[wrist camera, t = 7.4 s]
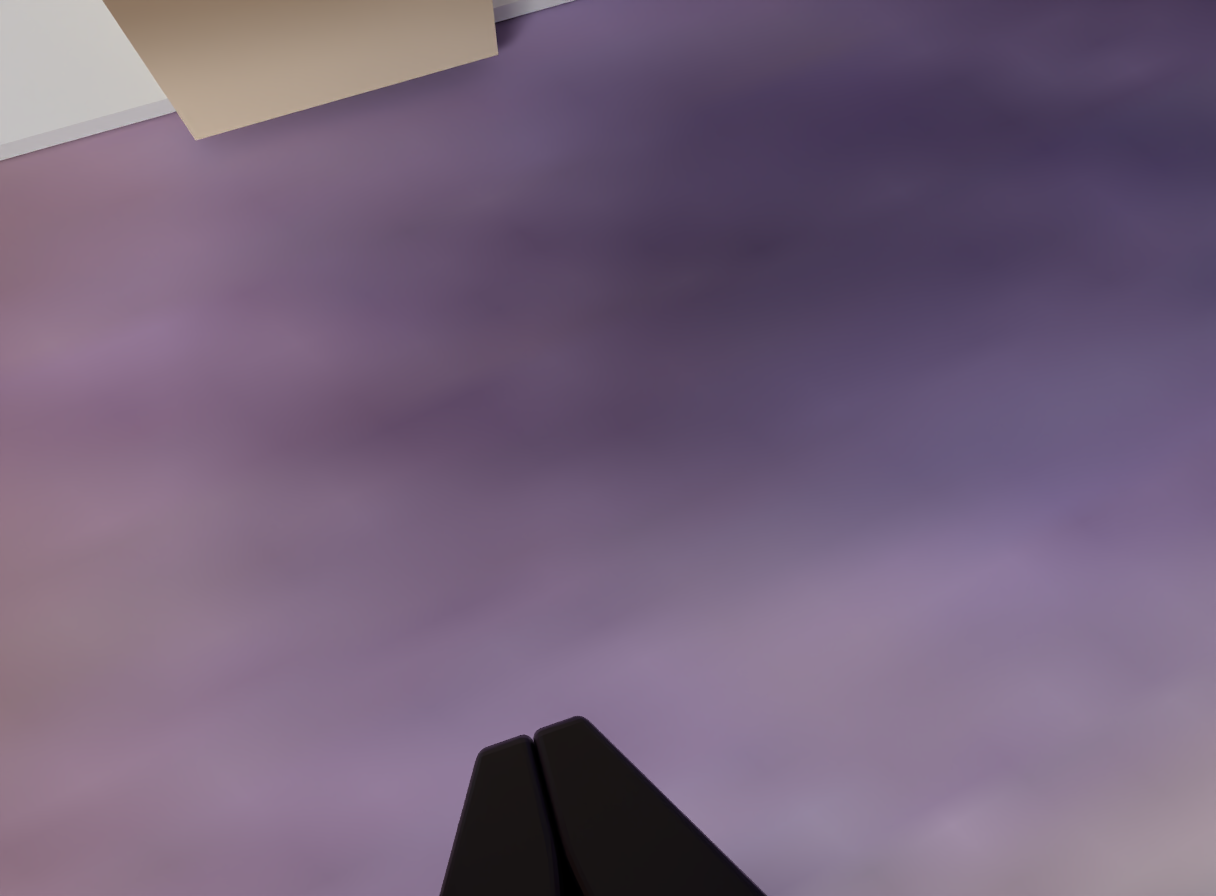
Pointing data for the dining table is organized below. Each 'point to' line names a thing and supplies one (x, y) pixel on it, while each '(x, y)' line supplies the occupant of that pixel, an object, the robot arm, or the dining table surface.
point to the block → (294, 51)
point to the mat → (89, 72)
